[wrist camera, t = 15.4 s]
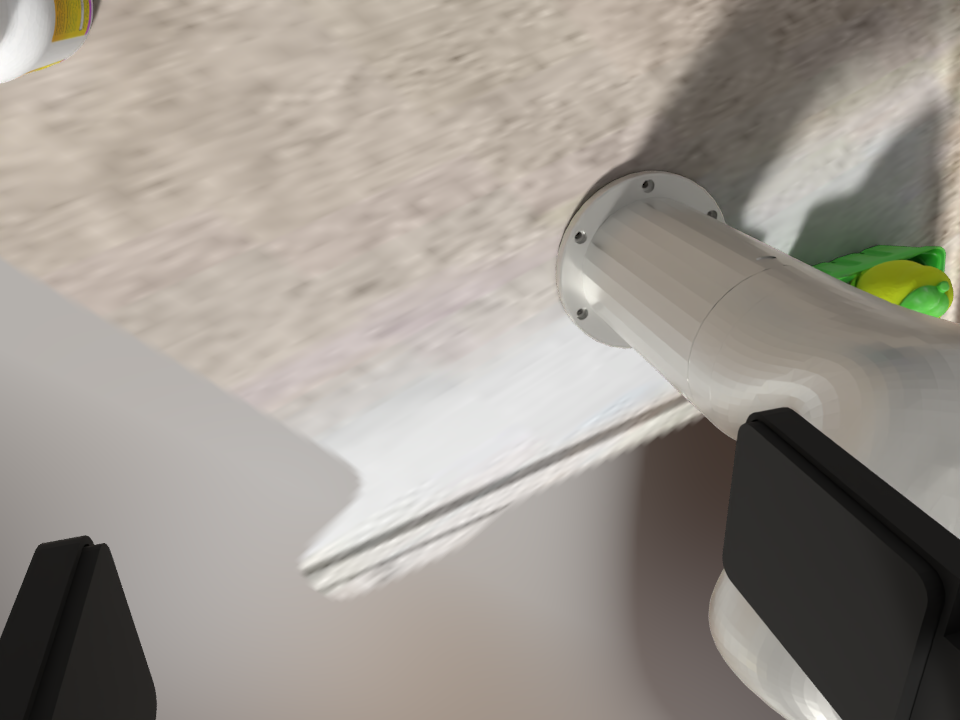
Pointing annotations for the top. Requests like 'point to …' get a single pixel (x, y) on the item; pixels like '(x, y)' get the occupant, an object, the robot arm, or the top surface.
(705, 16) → the top surface
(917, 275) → the fruit basket
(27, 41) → the supplement bottle
